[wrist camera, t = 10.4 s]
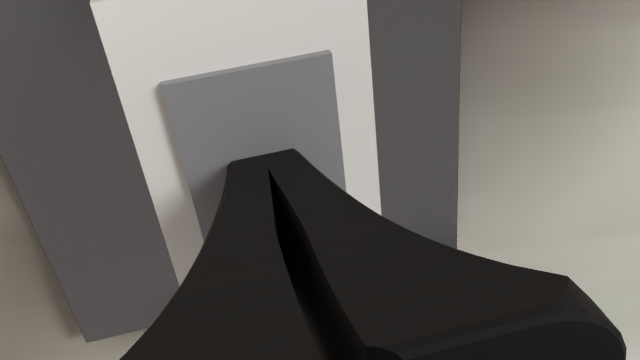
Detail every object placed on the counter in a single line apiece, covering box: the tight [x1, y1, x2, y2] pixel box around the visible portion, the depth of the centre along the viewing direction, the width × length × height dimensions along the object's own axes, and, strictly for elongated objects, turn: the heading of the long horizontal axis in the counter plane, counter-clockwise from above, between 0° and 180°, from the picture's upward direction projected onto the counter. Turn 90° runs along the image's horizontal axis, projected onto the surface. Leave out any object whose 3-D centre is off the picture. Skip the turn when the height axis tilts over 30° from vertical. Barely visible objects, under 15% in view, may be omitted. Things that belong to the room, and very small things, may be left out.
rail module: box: [90, 0, 381, 286], centre depth 15 cm, size 4×8×6 cm, turn 7°
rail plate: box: [0, 0, 461, 343], centre depth 17 cm, size 14×18×3 cm
